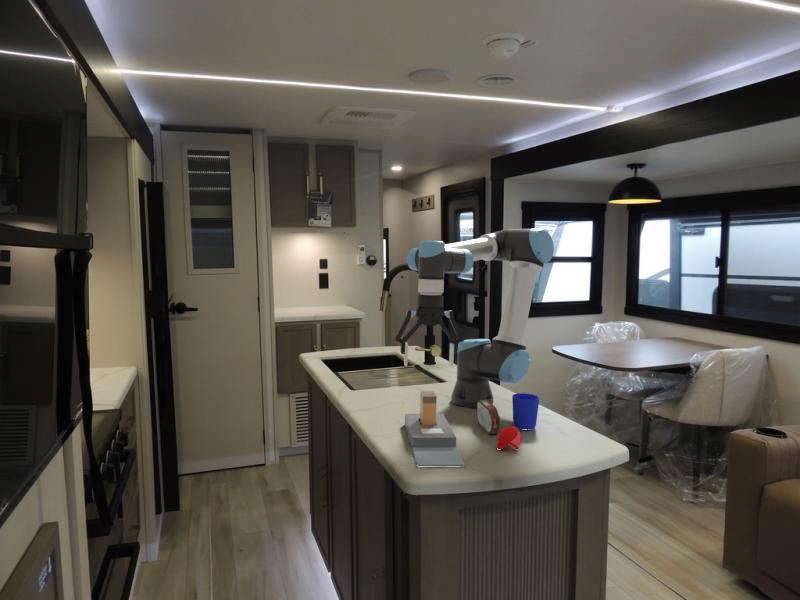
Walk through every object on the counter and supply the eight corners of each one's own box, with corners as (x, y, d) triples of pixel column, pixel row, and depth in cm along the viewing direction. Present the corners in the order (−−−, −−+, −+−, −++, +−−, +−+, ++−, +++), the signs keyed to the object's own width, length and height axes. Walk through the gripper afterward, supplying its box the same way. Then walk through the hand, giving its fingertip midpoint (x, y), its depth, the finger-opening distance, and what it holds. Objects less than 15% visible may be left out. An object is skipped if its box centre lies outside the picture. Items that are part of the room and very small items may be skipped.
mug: (540, 422, 175) (541, 391, 174) (536, 433, 164) (538, 401, 163) (514, 419, 178) (515, 389, 177) (509, 430, 166) (510, 398, 166)
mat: (455, 449, 149) (455, 447, 149) (464, 467, 137) (465, 464, 137) (412, 450, 148) (412, 447, 148) (417, 467, 136) (417, 464, 136)
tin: (500, 437, 160) (501, 409, 159) (490, 438, 159) (491, 410, 158) (484, 421, 174) (485, 396, 174) (474, 422, 174) (475, 396, 173)
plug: (432, 429, 165) (433, 391, 164) (435, 436, 159) (436, 396, 158) (419, 429, 165) (420, 391, 164) (421, 436, 159) (422, 396, 158)
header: (442, 424, 171) (442, 412, 170) (455, 449, 149) (456, 436, 148) (404, 424, 169) (405, 413, 169) (412, 450, 148) (412, 437, 147)
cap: (511, 430, 156) (496, 421, 154) (526, 429, 151) (511, 420, 149) (505, 457, 152) (489, 448, 150) (520, 457, 148) (504, 448, 146)
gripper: (469, 293, 163) (467, 362, 165) (387, 291, 161) (385, 362, 163) (475, 295, 156) (472, 368, 158) (388, 293, 154) (387, 367, 155)
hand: (428, 365), depth 160 cm, fingers open, 13 cm apart
